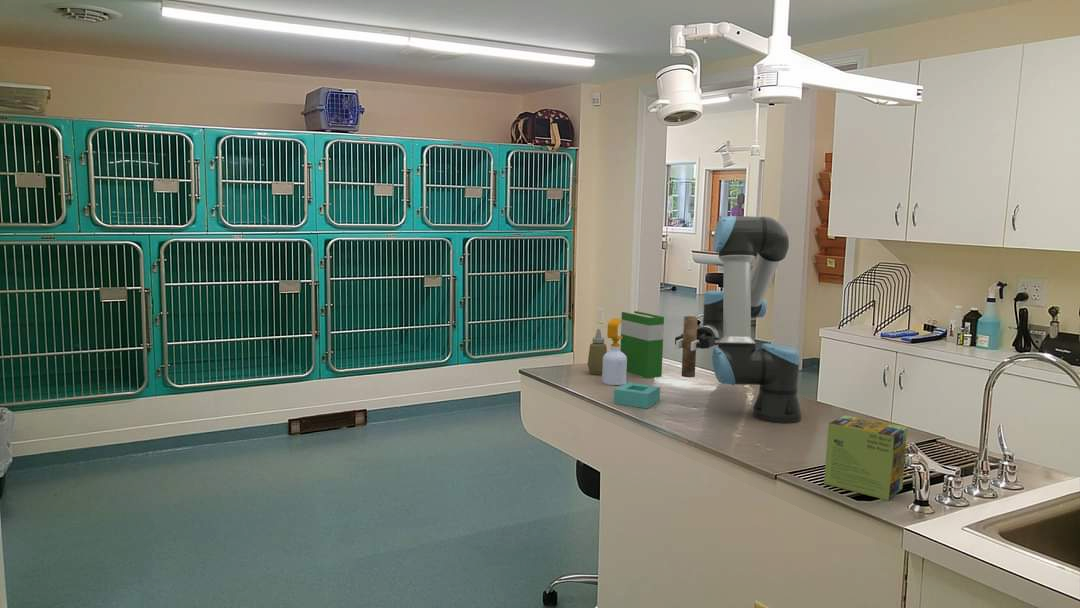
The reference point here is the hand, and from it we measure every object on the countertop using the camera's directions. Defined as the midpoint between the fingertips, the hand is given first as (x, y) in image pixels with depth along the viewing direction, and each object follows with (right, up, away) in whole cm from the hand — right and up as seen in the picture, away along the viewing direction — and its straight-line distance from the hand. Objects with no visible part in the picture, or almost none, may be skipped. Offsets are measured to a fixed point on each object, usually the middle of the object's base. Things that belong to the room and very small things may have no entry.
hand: (684, 345), depth 245 cm
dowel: (+2, -11, +6) cm, 12 cm away
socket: (-14, -20, +11) cm, 27 cm away
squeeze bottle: (-25, -14, +54) cm, 61 cm away
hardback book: (-7, -14, +57) cm, 59 cm away
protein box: (+31, -31, -64) cm, 77 cm away
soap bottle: (-19, -17, +38) cm, 46 cm away
